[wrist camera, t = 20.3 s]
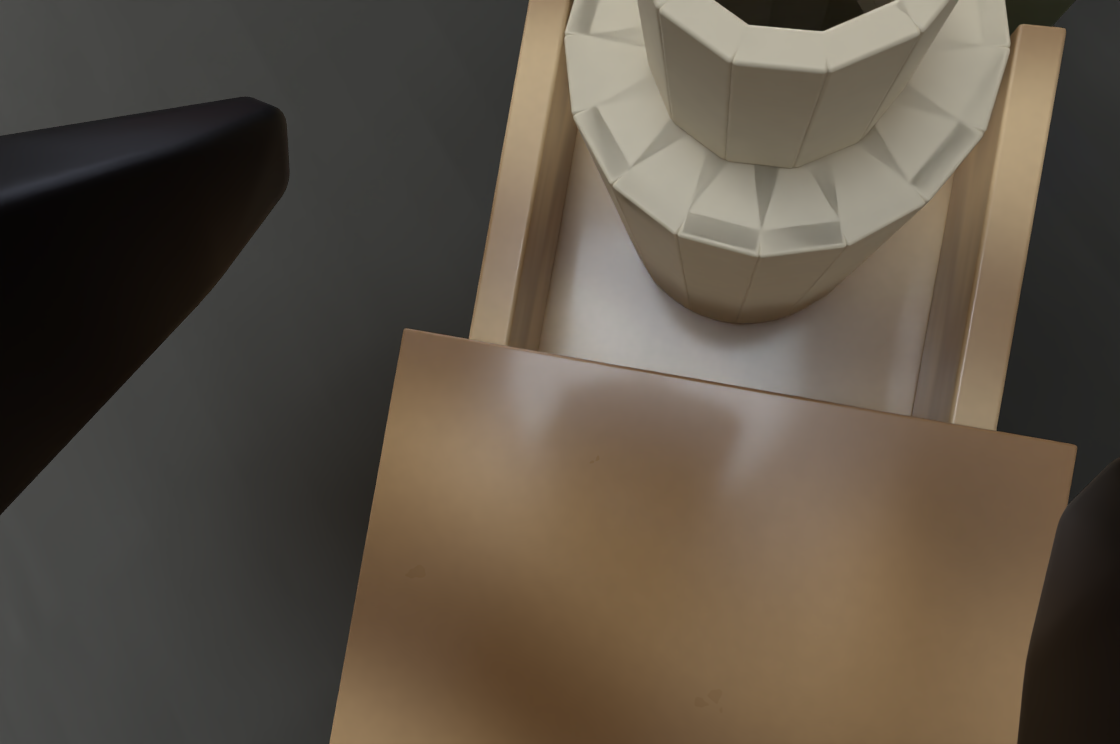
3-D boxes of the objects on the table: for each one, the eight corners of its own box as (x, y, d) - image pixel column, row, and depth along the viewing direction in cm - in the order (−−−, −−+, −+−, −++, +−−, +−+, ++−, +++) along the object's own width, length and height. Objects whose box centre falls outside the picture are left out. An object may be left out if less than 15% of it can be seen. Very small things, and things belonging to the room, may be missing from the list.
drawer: (601, -240, 21) (576, -389, 17) (1071, -213, 19) (1164, -371, 15) (473, 473, 21) (418, 489, 17) (934, 566, 19) (993, 608, 15)
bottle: (764, 371, 19) (858, 316, 7) (585, 230, 20) (399, -31, 8) (915, 186, 19) (1282, -197, 7) (728, 50, 19) (759, -514, 7)
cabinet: (479, 346, 22) (402, 327, 16) (977, 433, 20) (1079, 445, 14) (384, 876, 22) (276, 1035, 16) (875, 1015, 20) (939, 1249, 14)
